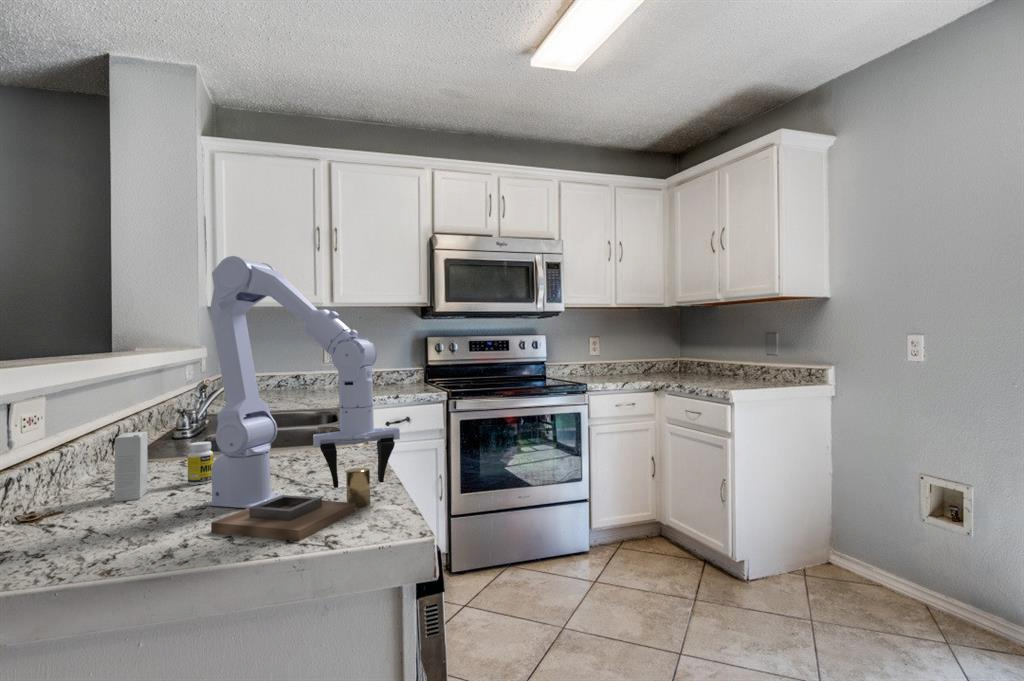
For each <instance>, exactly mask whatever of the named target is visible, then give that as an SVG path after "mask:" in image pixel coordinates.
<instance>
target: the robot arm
mask: <svg viewBox="0 0 1024 681" xmlns="http://www.w3.org/2000/svg"><path fill="white" fill-rule="evenodd" d="M211 275H212V276H211V278H212V282H213V293H212V297H211V301H210V302H211V303H210V314H211V319H212V326H213V331H214V337H215V344H216V349H217V356H218V361H219V368H220V373H221V379H222V386H223V392H224V397H225V404H224V406H223V407H222V408H221V410H220V411H219V412H217V416H216V418H217V428H216V431H215V432H216V433H215V443H216V444H217V446H218V448H219V450H220V451H221V452H222V453H221V454H220V455H218V456H217V457H216V458H215V459H214V460H213V466H212V482H211V501H209V502H208V503H207V505H208V506H212V507H227V508H238V509H239V508H240V509H248V508H250V507H253V506H256V505H258V504H261V503H263V502H266V501H269V500H271V499H274V498H277V497H280V496H282V493H271V457H270V456H271V453H270V450H271V449H272V443H274V441H275V440H276V439H277V435H278V425H277V422H276V420H275V419H274V418H273V416H272V414H271V411H270V407H269V404H267V403H266V402H265V401H264V400H263V399H262V398H261V397H260V394H259V388H258V387H259V386H258V382H257V376H256V371H255V370H256V369H255V364H254V358H253V357H254V356H253V353H252V346H251V341H250V340H251V339H250V336H249V335H250V334H249V329H248V323H247V322H248V321H247V317H246V315H247V313H248V312H249V311H250V310H251V309H252V307H253V306H256V304H258V303H259V302H261V301H263V300H264V299H265V298H266V297H271V298H272V299H273V300H275V301H276V302H277V303H278V304H279V305H280V306H283V308H284V309H286V310H287V311H288V312H289V313H291V314H292V315H294V317H296V318H297V319H299V321H301V322H302V323H303V325H304V328H303V329H304V333H305V334H306V335H307V336H308V338H310V339H312V341H314V342H315V343H316V344H317V345H318V346H319V347H320V348H322V350H324V351H325V352H326V354H328V355H330V358H331V362H332V365H333V366H334V367H335V368H336V370H337V373H338V392H339V393H338V394H339V395H338V398H339V400H338V401H339V430H338V431H332V432H326V433H316V434H313V435H312V438H313V441H312V442H313V443H312V444H313V448H320V452H321V454H322V455H323V457H324V459H325V461H326V463H327V466H328V469H329V471H330V475H331V478H332V479H331V480H332V486H333V488H334V489H338V488H339V477H338V450H337V446H338V445H346V444H355V443H356V444H357V443H358V444H359V443H368V442H369V443H370V442H376V450H377V481H378V483H380V484H381V483H384V482H385V474H386V469H387V466H388V463H389V459H390V457H391V454H392V452H393V450H394V448H395V444H396V443H395V440H401V439H400V438H401V437H400V436H401V435H400V432H401V431H400V428H399V427H379V428H376V427H374V426H375V425H374V424H375V423H374V418H375V417H374V392H373V391H374V389H373V381H374V380H373V366H374V365H375V363H376V361H377V356H378V352H377V348H376V346H375V345H374V343H372V341H371V339H369V338H366V337H359V336H358V335H359V332H358V330H356V329H351V328H350V327H349V326H347V325H346V324H345V323H344V322H343V321H342V320H341V319H339V317H340V314H339V313H338V312H336V311H335V310H331V311H330V310H329V309H325V308H324V309H318V308H317V307H316V306H315V305H313V303H311V301H309V300H308V299H307V298H306V297H305V296H304V295H303V294H302V293H301V292H300V291H299V290H298V289H297V288H296V287H295V286H294V285H293V284H292V283H291V282H290V281H288V279H287V278H286V277H285V276H284V274H283V273H282V272H280V271H278V270H276V269H275V268H274V267H273V266H272V265H271V264H269V263H266V262H257V261H253V260H249V259H245V258H242V257H240V256H235V255H232V256H231V255H229V256H226V257H225V258H223V259H222V260H221V261H220V262H219V263H218V265H217V266H216V267H215V269H214V270H213V271H212V272H211ZM336 445H337V446H336Z"/></svg>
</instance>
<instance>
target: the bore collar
mask: <svg viewBox="0 0 1024 681" xmlns="http://www.w3.org/2000/svg"><path fill="white" fill-rule="evenodd" d="M322 501H323V498H322V497H319V496H316V497H315V496H304V495H303V496H302V495H288V494H287V495H286V494H281V496H280V497H277V498H275V499H272V500H269V501H267V502H264V503H262V504H259V505H256V506H254V507H251V508H249V516H250V518H257V519H269V520H281V521H292V520H294V519H296V518H299V517H301V516H303V515H305V514H307V513H310V512H312V511H314V510H316V509H318V508H321V507H322ZM284 506H290V507H293V508H290V509H283V508H281V507H284Z"/></svg>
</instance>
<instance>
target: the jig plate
mask: <svg viewBox="0 0 1024 681" xmlns="http://www.w3.org/2000/svg"><path fill="white" fill-rule="evenodd" d="M274 499H275V498H274ZM271 500H272V499H271ZM266 502H267V501H266ZM263 503H264V502H263ZM261 504H262V503H261ZM258 505H259V504H258ZM253 507H254V506H253ZM250 508H251V507H250ZM281 508H283V509H290V508H293V507H290V506H284V507H281ZM356 509H357V508H355V503H350V502H347V501H334V500H333V501H331V500H322V507H321V508H318V509H316V510H314V511H312V512H310V513H307V514H305V515H303V516H301V517H299V518H296V519H294V520H292V521H281V520H269V519H257V518H250V516H249V508H244V509H242V510H240V511H237V512H235V513H232V514H230V515H227V516H224V517H222V518H219V519H216V520H213V521H211V524H210V527H211V530H210V532H211V533H214V534H215V533H216V534H224V535H226V534H227V535H235V536H243V537H244V536H245V537H258V538H267V539H277V540H286V541H299V542H300V541H302V540H304V539H306V538H307V537H310V536H312V535H314V534H316V533H318V532H319V531H321V530H324V529H326V528H327V527H329V526H331V525H333V524H335V523H337V522H339V521H340V520H343V519H344V518H347V517H348V516H350V515H352V514H355V513H356Z"/></svg>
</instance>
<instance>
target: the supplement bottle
mask: <svg viewBox="0 0 1024 681" xmlns="http://www.w3.org/2000/svg"><path fill="white" fill-rule="evenodd" d="M188 448H189V453H188V454H187V484H188V485H189V484H190V486H199V485H198V484H202V485H206V484H205V483H207V484H210V483H212V466H213V463H214V452H213V451H212V450H211V449H212V442H211V441H196V442H192V443H189V447H188ZM209 482H210V483H209Z"/></svg>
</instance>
